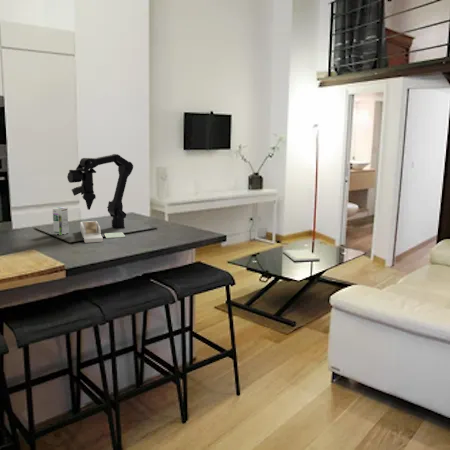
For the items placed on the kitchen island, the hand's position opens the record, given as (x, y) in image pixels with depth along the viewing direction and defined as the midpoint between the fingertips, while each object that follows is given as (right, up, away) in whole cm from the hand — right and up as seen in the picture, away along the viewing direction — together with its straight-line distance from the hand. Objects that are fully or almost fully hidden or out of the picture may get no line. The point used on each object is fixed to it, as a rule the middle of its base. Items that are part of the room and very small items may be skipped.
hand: (88, 209), depth 258 cm
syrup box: (-15, -14, -2) cm, 20 cm away
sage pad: (+15, -14, -4) cm, 21 cm away
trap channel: (+3, -15, -6) cm, 16 cm away
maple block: (+3, -12, -5) cm, 14 cm away
